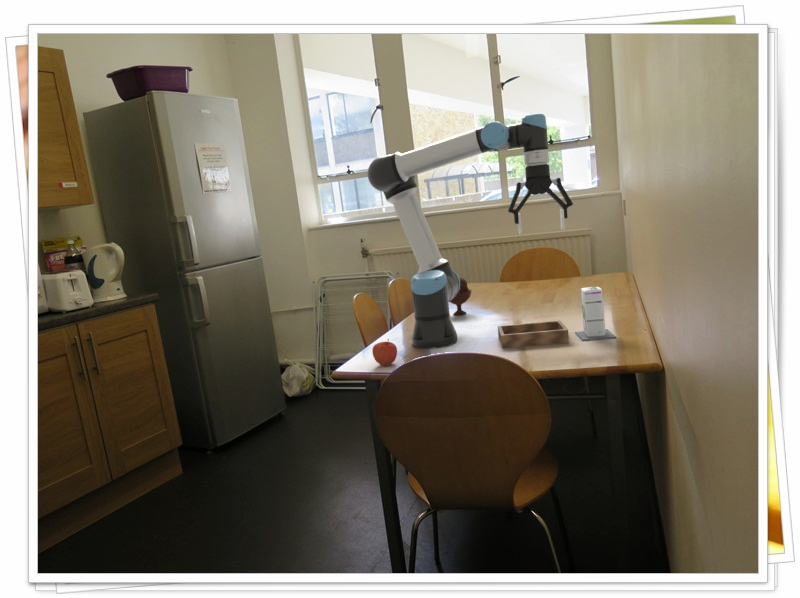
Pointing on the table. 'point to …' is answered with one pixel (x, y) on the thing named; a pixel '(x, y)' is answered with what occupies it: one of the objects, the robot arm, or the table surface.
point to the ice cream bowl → (461, 297)
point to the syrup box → (593, 311)
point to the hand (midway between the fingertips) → (541, 231)
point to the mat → (584, 338)
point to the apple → (384, 353)
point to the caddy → (533, 334)
